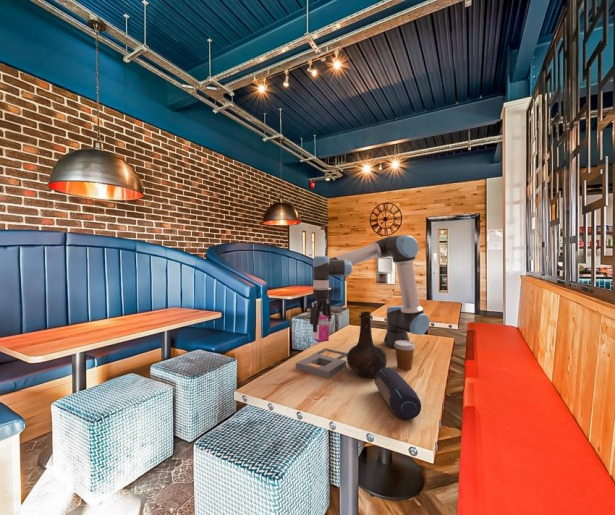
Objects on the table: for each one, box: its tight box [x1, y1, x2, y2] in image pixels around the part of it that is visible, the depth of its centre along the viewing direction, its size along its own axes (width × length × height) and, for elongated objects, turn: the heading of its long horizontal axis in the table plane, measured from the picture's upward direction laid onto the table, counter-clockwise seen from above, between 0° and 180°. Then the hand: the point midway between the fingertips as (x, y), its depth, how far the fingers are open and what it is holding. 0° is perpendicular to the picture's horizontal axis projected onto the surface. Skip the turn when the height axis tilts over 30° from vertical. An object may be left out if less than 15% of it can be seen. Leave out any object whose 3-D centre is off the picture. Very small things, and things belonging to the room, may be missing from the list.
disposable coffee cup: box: [394, 340, 416, 372], centre depth 142 cm, size 10×10×12 cm
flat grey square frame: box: [315, 348, 348, 360], centre depth 159 cm, size 15×15×1 cm
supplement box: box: [312, 314, 330, 343], centre depth 142 cm, size 6×6×12 cm
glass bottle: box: [346, 311, 388, 378], centre depth 136 cm, size 18×18×28 cm
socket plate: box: [295, 352, 347, 379], centre depth 142 cm, size 18×16×3 cm
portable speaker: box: [374, 366, 422, 420], centre depth 108 cm, size 25×10×10 cm, turn 4°
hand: (320, 336), depth 142 cm, fingers closed on supplement box, 8 cm apart
